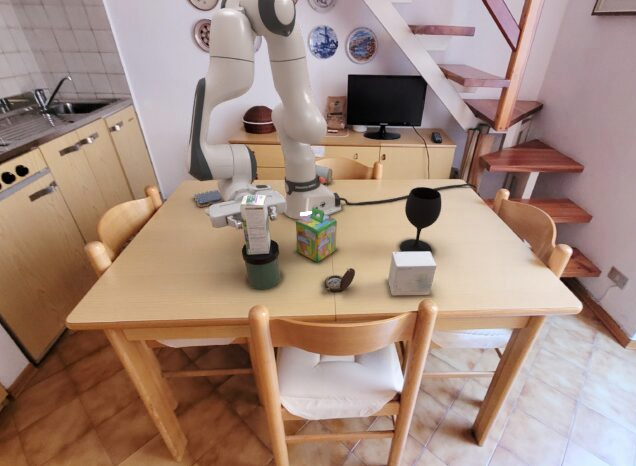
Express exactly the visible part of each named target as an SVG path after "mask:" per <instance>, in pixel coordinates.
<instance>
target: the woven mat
mask: <svg viewBox="0 0 636 466" xmlns="http://www.w3.org/2000/svg"><path fill="white" fill-rule="evenodd" d="M193 199H194V201H195V202H197V203H196V204H197V206H198V207H200V208H204V207H207V206H211V205H213V204H217V203H222V202H225V201H224V199H223V198H222V196H221V194H220V192H219V189H214V190H210V191H205V192H201V193H200V192H198V193H194V194H193Z"/></svg>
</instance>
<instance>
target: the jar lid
mask: <svg viewBox="0 0 636 466" xmlns="http://www.w3.org/2000/svg"><path fill="white" fill-rule="evenodd" d="M270 240H271V242H270V250H269V254H252V255H248V254H247V250H246V243H244V245H243V246H242V248H241V256H242V259H243V261H244V263H245V262H247V263H249V264H252V265H264V264H268V263H270V262H272V261H274V260H275V259H276V258H277V257H278V258H279V255H280V246H279V243H278V242H277V241H276V240H273V239H271V238H270Z"/></svg>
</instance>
